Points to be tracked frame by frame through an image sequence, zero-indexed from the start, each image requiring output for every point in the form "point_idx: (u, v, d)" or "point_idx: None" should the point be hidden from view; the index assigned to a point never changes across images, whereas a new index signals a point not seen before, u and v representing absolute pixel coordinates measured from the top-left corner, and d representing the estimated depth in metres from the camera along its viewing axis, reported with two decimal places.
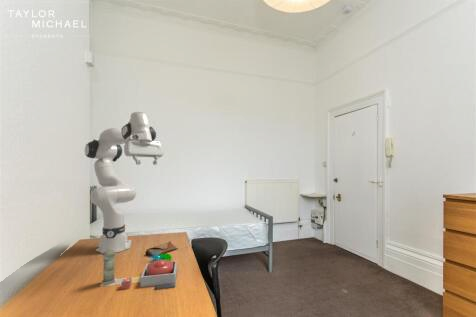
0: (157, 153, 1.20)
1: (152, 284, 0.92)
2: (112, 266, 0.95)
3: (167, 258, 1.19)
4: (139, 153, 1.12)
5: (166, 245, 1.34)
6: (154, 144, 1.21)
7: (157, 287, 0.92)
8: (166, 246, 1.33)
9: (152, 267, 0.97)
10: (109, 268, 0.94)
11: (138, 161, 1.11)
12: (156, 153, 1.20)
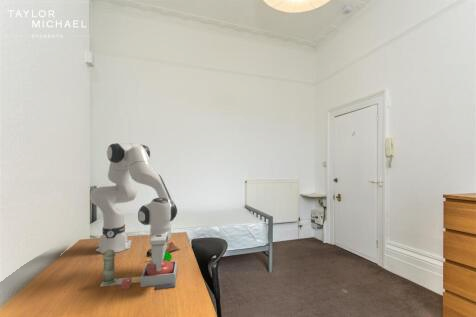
0: None
1: (152, 284, 0.92)
2: (112, 266, 0.95)
3: (167, 257, 1.20)
4: (163, 257, 0.96)
5: (167, 246, 1.33)
6: None
7: (157, 287, 0.92)
8: (167, 247, 1.32)
9: (152, 268, 0.97)
10: (108, 268, 0.94)
11: None
12: None
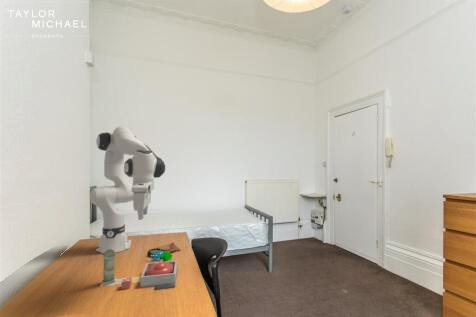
0: (149, 201, 1.06)
1: (152, 284, 0.92)
2: (112, 266, 0.95)
3: (168, 256, 1.21)
4: (145, 206, 0.96)
5: (168, 246, 1.32)
6: None
7: (157, 287, 0.92)
8: (168, 247, 1.31)
9: (152, 269, 0.97)
10: (108, 268, 0.94)
11: (142, 216, 0.95)
12: (149, 202, 1.05)
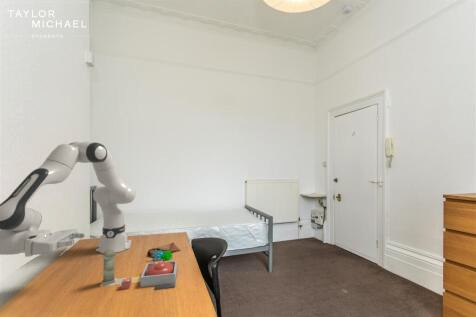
0: (71, 231, 0.98)
1: (152, 284, 0.92)
2: (112, 266, 0.95)
3: (168, 255, 1.22)
4: (59, 238, 0.88)
5: (168, 246, 1.32)
6: (56, 232, 0.96)
7: (157, 287, 0.92)
8: (168, 247, 1.31)
9: (152, 269, 0.97)
10: (108, 268, 0.94)
11: (69, 240, 0.88)
12: (70, 231, 0.97)
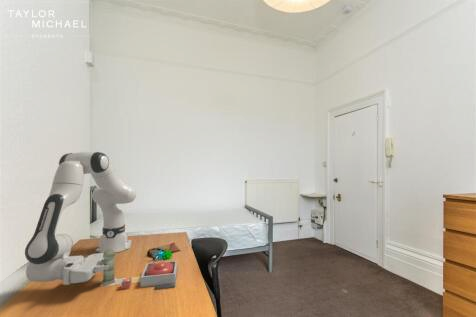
0: (102, 255, 1.00)
1: (152, 284, 0.92)
2: (112, 266, 0.95)
3: (168, 254, 1.23)
4: (93, 265, 0.90)
5: (168, 246, 1.32)
6: (88, 257, 0.98)
7: (157, 287, 0.92)
8: (168, 247, 1.31)
9: (152, 269, 0.97)
10: None
11: (105, 265, 0.93)
12: (101, 256, 1.00)
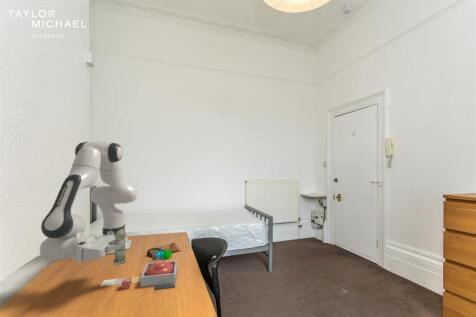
0: (113, 237, 1.01)
1: (152, 284, 0.92)
2: (124, 246, 0.96)
3: (168, 254, 1.24)
4: (105, 244, 0.91)
5: (168, 246, 1.32)
6: (100, 238, 0.99)
7: (157, 287, 0.92)
8: (168, 247, 1.31)
9: (152, 269, 0.97)
10: (120, 248, 0.94)
11: (117, 244, 0.93)
12: (113, 237, 1.00)
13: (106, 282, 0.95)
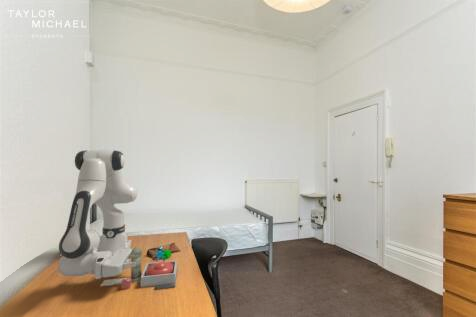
0: (128, 251, 1.03)
1: (152, 284, 0.92)
2: (140, 264, 0.97)
3: (168, 254, 1.25)
4: (123, 260, 0.93)
5: (168, 246, 1.32)
6: (115, 252, 1.01)
7: (157, 287, 0.92)
8: (168, 247, 1.31)
9: (152, 269, 0.97)
10: (136, 265, 0.96)
11: (133, 262, 0.93)
12: (128, 251, 1.02)
13: (106, 282, 0.95)
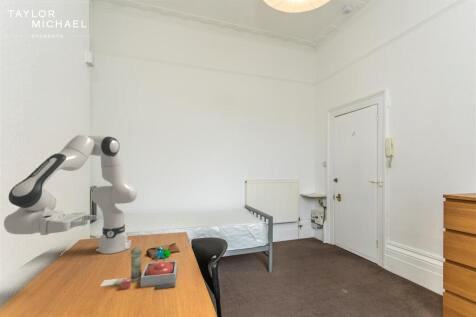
0: (83, 213, 0.99)
1: (152, 284, 0.92)
2: (140, 264, 0.97)
3: (167, 253, 1.26)
4: (72, 218, 0.90)
5: (168, 246, 1.32)
6: (69, 214, 0.98)
7: (157, 287, 0.92)
8: (167, 248, 1.31)
9: (152, 269, 0.97)
10: (136, 265, 0.96)
11: (83, 220, 0.90)
12: (82, 213, 0.99)
13: (106, 282, 0.95)
